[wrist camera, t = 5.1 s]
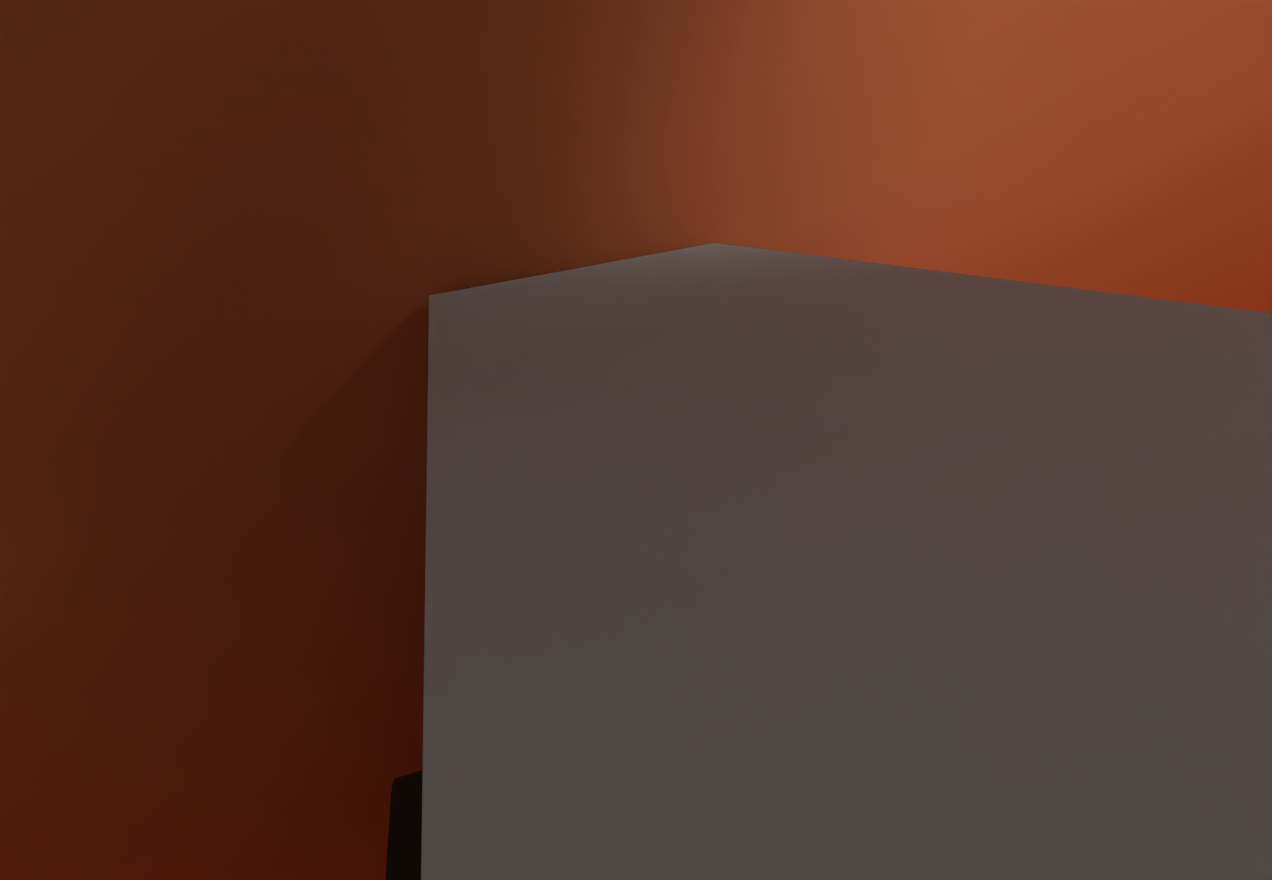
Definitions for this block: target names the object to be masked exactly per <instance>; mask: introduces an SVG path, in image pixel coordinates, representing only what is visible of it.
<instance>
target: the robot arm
mask: <svg viewBox="0 0 1272 880" xmlns="http://www.w3.org/2000/svg"><path fill="white" fill-rule="evenodd" d="M422 779H423V770H422V771H419V772H415V773H412V774H409V775H405V776H402V777H398V778H396V779H395V780H394V782H393V786H392V792H391V806H390V821H389V836H388V851H387V867H386V880H421V852H422Z"/></svg>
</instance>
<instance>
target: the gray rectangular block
mask: <svg viewBox="0 0 1272 880" xmlns="http://www.w3.org/2000/svg"><path fill="white" fill-rule="evenodd" d="M421 880H1272V313H1265V312H1257V311H1249V310H1241V309H1233V308H1225V307H1217V306H1209V305H1201V304H1193V303H1186V302H1178V301H1170V300H1162V299H1154V298H1146V297H1138V296H1130V295H1122V294H1114V293H1107V292H1099V291H1091V290H1083V289H1075V288H1067V287H1059V286H1051V285H1043V284H1035V283H1028V282H1020V281H1012V280H1004V279H996V278H988V277H980V276H972V275H964V274H956V273H949V272H941V271H933V270H925V269H917V268H909V267H901V266H893V265H885V264H877V263H870V262H862V261H854V260H846V259H838V258H830V257H822V256H814V255H806V254H798V253H791V252H783V251H775V250H767V249H759V248H751V247H743V246H735V245H727V244H719V243H711V244H706V245H701V246H695V247H690V248H684V249H679V250H673V251H668V252H663V253H657V254H652V255H646V256H641V257H635V258H630V259H624V260H619V261H614V262H608V263H603V264H597V265H592V266H586V267H581V268H576V269H570V270H565V271H559V272H554V273H548V274H543V275H537V276H532V277H527V278H521V279H516V280H510V281H505V282H499V283H494V284H489V285H483V286H478V287H472V288H467V289H461V290H456V291H450V292H445V293H440V294H434V295H429V342H428V414H427V487H426V560H425V633H424V706H423V779H422V852H421Z"/></svg>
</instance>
